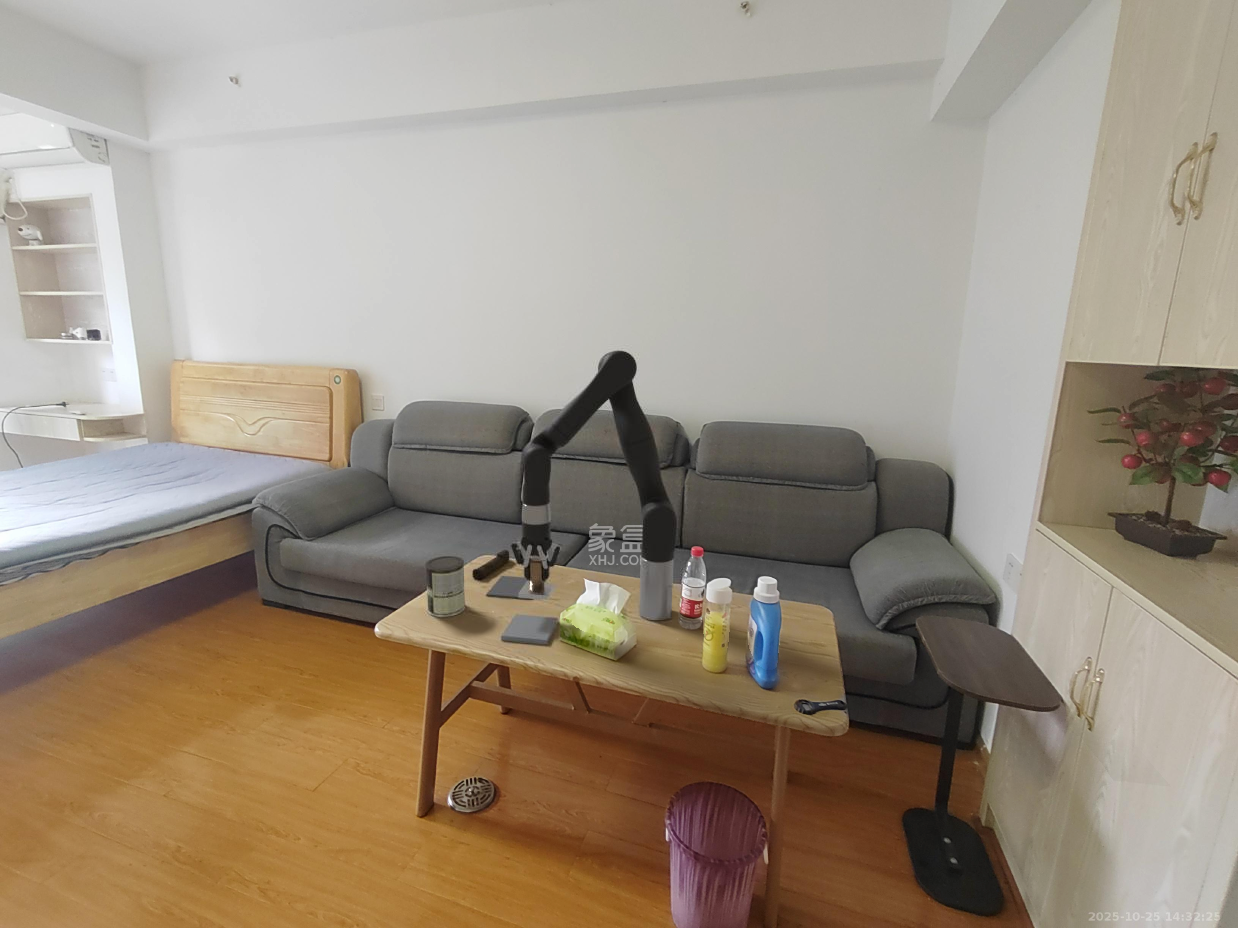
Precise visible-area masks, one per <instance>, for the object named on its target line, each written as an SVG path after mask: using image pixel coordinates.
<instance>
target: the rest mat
mask: <svg viewBox="0 0 1238 928" xmlns="http://www.w3.org/2000/svg"><path fill="white" fill-rule="evenodd" d="M527 581H530V580H526V578H525V576H524V577H523V576H510V575H501V576H500V577H499V579H497V581H496V582H495V583H494V584H493V585H492V587H491V588H490V589H489V590H488V592H486V595H485V596H486V597H493V598H506V599H517V600H518V599H519V600H531V601H532V600H533V599H530V598H518V593H519V592H520V590H521V589H522V588H523V586H524V585H525V583H526V582H527Z"/></svg>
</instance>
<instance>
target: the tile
mask: <svg viewBox="0 0 1238 928" xmlns="http://www.w3.org/2000/svg"><path fill="white" fill-rule="evenodd" d="M558 623H559V617H553V616H544V615H543V616H541V615H532V614H531V615H529V614H518V613H515V614H514V616H513V617H512V620H510V622H509V623H508V625H507V627H506V628H505V629H504V631H503V632H502V633H501V635H500V641H503V642H513V643H523V644H524V643H526V644H534V645H544V646H547V645H548V643H549V641H550V639H551V637H552V635H553V633H554V632H555V629H556V627H557V625H558Z"/></svg>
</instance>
